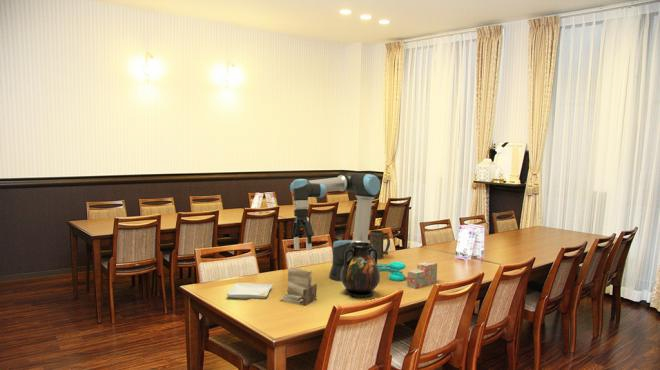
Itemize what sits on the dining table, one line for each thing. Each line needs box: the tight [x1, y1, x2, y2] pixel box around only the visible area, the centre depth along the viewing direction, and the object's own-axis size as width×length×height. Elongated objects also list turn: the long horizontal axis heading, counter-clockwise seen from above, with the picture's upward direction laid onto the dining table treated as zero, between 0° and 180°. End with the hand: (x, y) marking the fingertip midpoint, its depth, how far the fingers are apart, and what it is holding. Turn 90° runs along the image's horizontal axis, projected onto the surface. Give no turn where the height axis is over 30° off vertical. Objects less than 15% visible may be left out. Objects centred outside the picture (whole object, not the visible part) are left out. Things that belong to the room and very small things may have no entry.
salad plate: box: [226, 282, 274, 300], centre depth 264 cm, size 21×21×3 cm
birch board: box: [287, 267, 313, 297], centre depth 256 cm, size 4×12×15 cm, turn 64°
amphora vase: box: [340, 242, 381, 299], centre depth 269 cm, size 22×22×28 cm
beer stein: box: [369, 229, 391, 260], centre depth 358 cm, size 15×11×20 cm
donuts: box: [388, 261, 406, 282], centre depth 303 cm, size 10×10×10 cm
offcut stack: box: [282, 293, 303, 306], centre depth 251 cm, size 4×10×3 cm, turn 64°
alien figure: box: [377, 263, 403, 274], centre depth 324 cm, size 20×2×20 cm
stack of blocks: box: [406, 261, 438, 290], centre depth 293 cm, size 21×6×12 cm, turn 134°
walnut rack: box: [279, 283, 318, 307], centre depth 254 cm, size 12×15×9 cm
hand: (302, 250), depth 256 cm, fingers open, 13 cm apart
